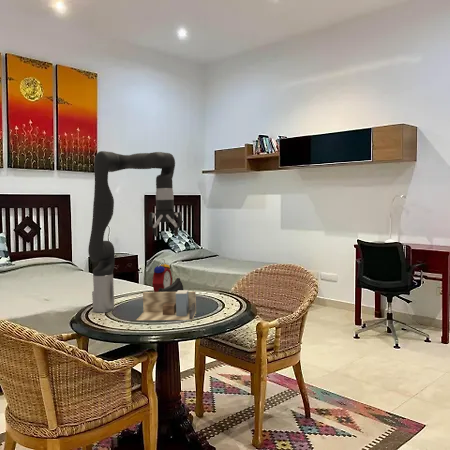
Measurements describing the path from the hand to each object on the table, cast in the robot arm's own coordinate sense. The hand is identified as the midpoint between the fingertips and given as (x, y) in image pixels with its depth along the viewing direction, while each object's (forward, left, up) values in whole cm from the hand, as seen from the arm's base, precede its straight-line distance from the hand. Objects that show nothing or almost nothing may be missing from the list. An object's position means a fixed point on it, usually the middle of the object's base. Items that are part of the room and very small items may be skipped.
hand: (165, 236), depth 193 cm
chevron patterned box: (-1, +2, -36) cm, 36 cm away
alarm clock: (-14, +52, -36) cm, 65 cm away
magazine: (-4, +29, -36) cm, 47 cm away
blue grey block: (+6, +4, -35) cm, 36 cm away
